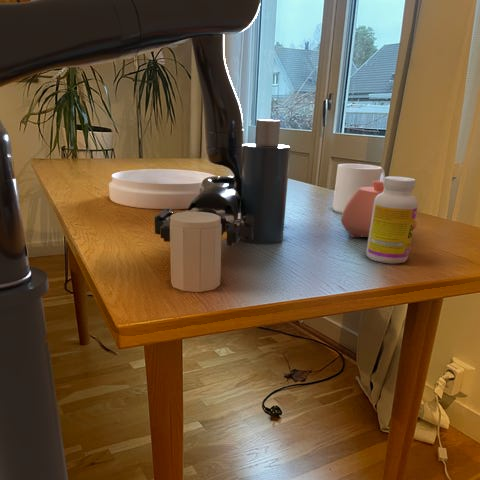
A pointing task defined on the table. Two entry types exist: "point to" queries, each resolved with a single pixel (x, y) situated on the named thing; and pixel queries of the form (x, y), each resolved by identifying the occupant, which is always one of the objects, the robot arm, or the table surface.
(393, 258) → the supplement bottle
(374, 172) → the mug
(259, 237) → the flask
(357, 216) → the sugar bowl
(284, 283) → the table surface
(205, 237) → the beige faceted cylinder
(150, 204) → the plate
